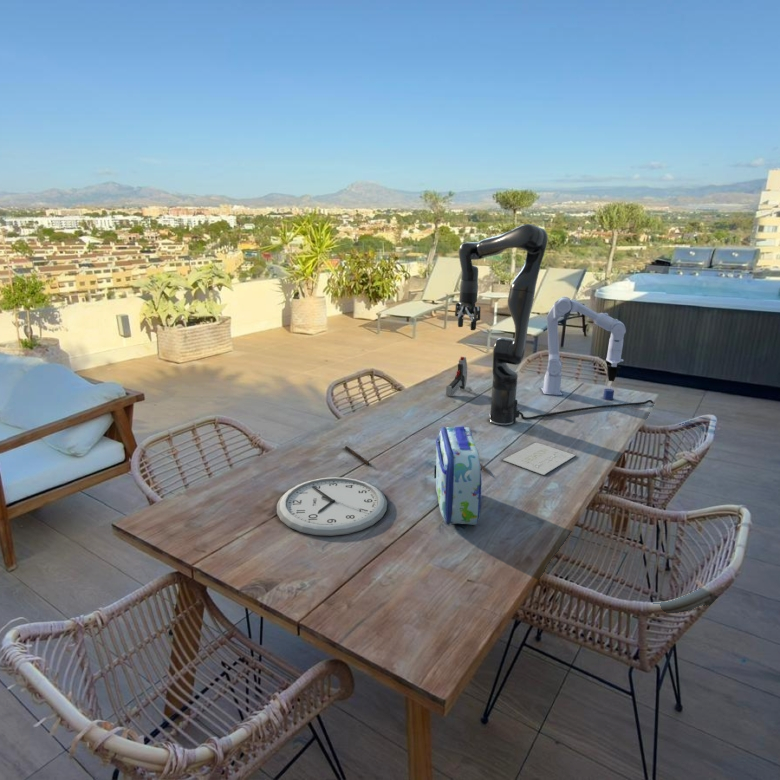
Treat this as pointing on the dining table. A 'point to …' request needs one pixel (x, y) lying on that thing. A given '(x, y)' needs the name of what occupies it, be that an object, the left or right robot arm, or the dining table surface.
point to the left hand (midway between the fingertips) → (466, 328)
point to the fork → (483, 468)
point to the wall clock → (331, 506)
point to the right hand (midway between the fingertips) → (610, 378)
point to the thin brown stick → (357, 455)
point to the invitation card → (539, 458)
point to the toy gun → (458, 378)
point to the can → (608, 394)
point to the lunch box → (458, 476)
